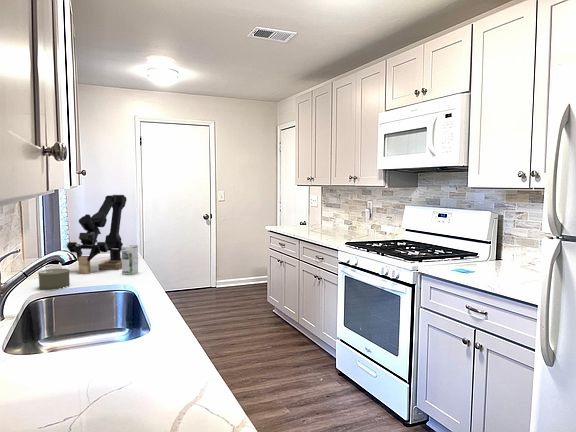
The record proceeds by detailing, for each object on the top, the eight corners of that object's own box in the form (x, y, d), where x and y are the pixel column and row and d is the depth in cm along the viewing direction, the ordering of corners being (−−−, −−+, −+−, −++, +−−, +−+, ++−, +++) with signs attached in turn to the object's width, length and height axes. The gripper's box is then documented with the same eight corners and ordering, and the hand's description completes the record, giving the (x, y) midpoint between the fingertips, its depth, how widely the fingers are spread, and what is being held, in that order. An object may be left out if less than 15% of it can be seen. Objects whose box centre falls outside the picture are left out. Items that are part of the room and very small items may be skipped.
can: (69, 288, 176) (69, 272, 176) (37, 291, 171) (36, 275, 170) (70, 282, 187) (70, 267, 186) (40, 285, 182) (39, 269, 181)
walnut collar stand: (106, 266, 224) (105, 260, 223) (125, 266, 224) (125, 260, 224) (98, 270, 213) (98, 264, 213) (119, 269, 214) (118, 264, 214)
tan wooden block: (82, 272, 208) (81, 255, 207) (90, 272, 208) (90, 255, 208) (79, 274, 204) (78, 257, 203) (87, 273, 204) (86, 257, 204)
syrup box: (121, 274, 204) (120, 245, 203) (129, 271, 209) (128, 244, 208) (131, 275, 202) (130, 246, 201) (138, 272, 208) (138, 244, 207)
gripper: (67, 226, 208) (58, 251, 198) (105, 226, 209) (97, 251, 199) (75, 239, 216) (66, 264, 206) (111, 239, 218) (104, 264, 207)
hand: (83, 260), depth 204 cm, fingers open, 5 cm apart
